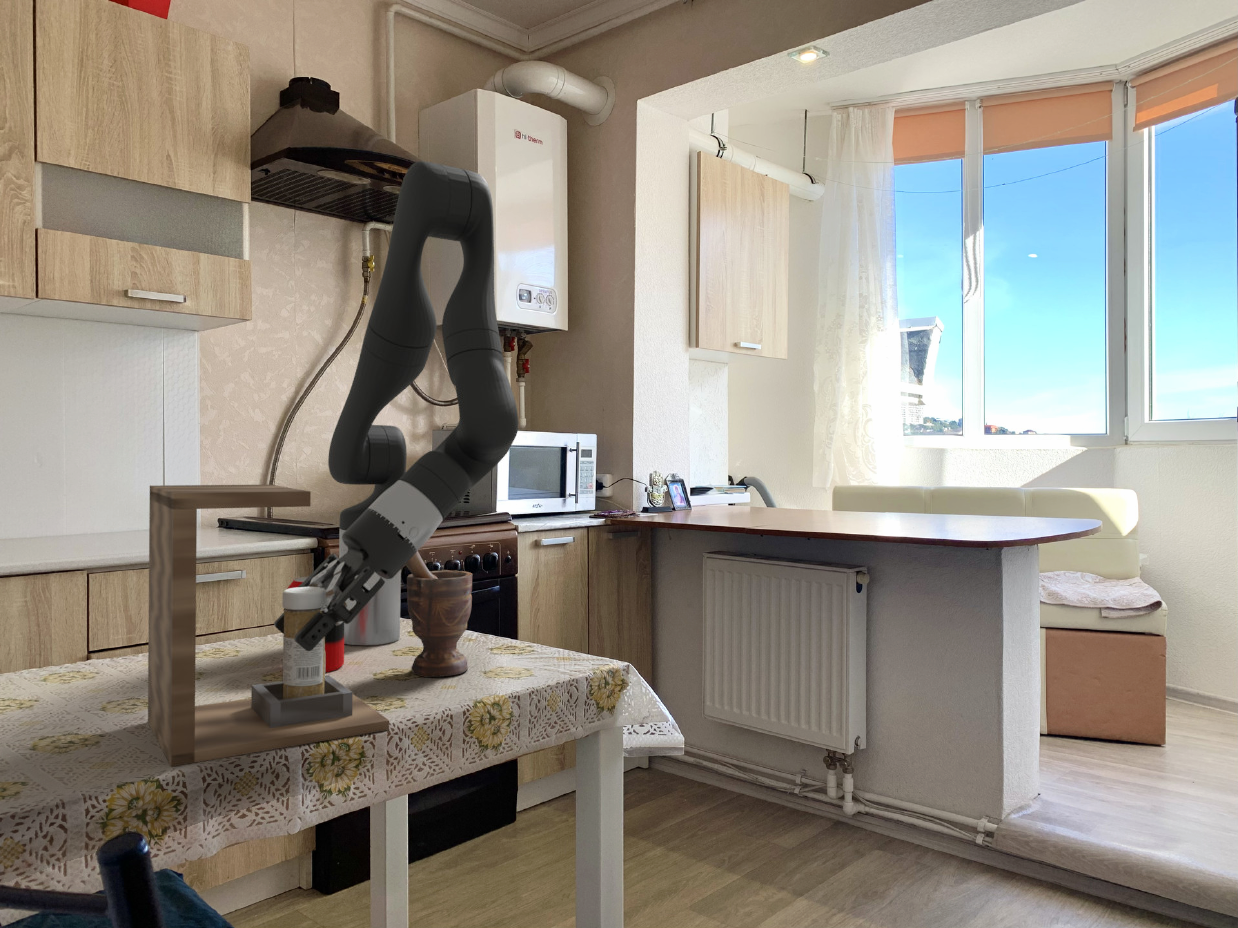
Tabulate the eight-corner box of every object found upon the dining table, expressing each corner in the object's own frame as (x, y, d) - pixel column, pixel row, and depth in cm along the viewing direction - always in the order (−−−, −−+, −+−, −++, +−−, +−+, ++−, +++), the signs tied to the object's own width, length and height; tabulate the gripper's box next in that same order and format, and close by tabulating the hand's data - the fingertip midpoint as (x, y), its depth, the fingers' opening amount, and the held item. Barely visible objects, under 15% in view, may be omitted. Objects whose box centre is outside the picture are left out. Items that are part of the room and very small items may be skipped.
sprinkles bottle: (326, 704, 101) (328, 585, 101) (323, 716, 97) (325, 591, 97) (283, 706, 100) (285, 585, 100) (278, 718, 96) (280, 592, 96)
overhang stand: (147, 721, 97) (149, 485, 97) (342, 694, 109) (344, 483, 109) (171, 766, 84) (173, 493, 84) (389, 729, 96) (392, 490, 96)
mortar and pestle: (422, 688, 113) (424, 528, 112) (374, 677, 117) (376, 524, 117) (483, 669, 122) (486, 522, 122) (437, 660, 127) (439, 519, 127)
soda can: (352, 661, 126) (353, 575, 125) (330, 675, 118) (331, 584, 118) (300, 659, 126) (301, 574, 126) (274, 673, 119) (275, 582, 119)
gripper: (351, 502, 108) (249, 605, 102) (393, 510, 97) (281, 627, 90) (393, 544, 111) (296, 647, 105) (439, 557, 100) (334, 673, 93)
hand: (290, 638), depth 98 cm, fingers open, 8 cm apart
